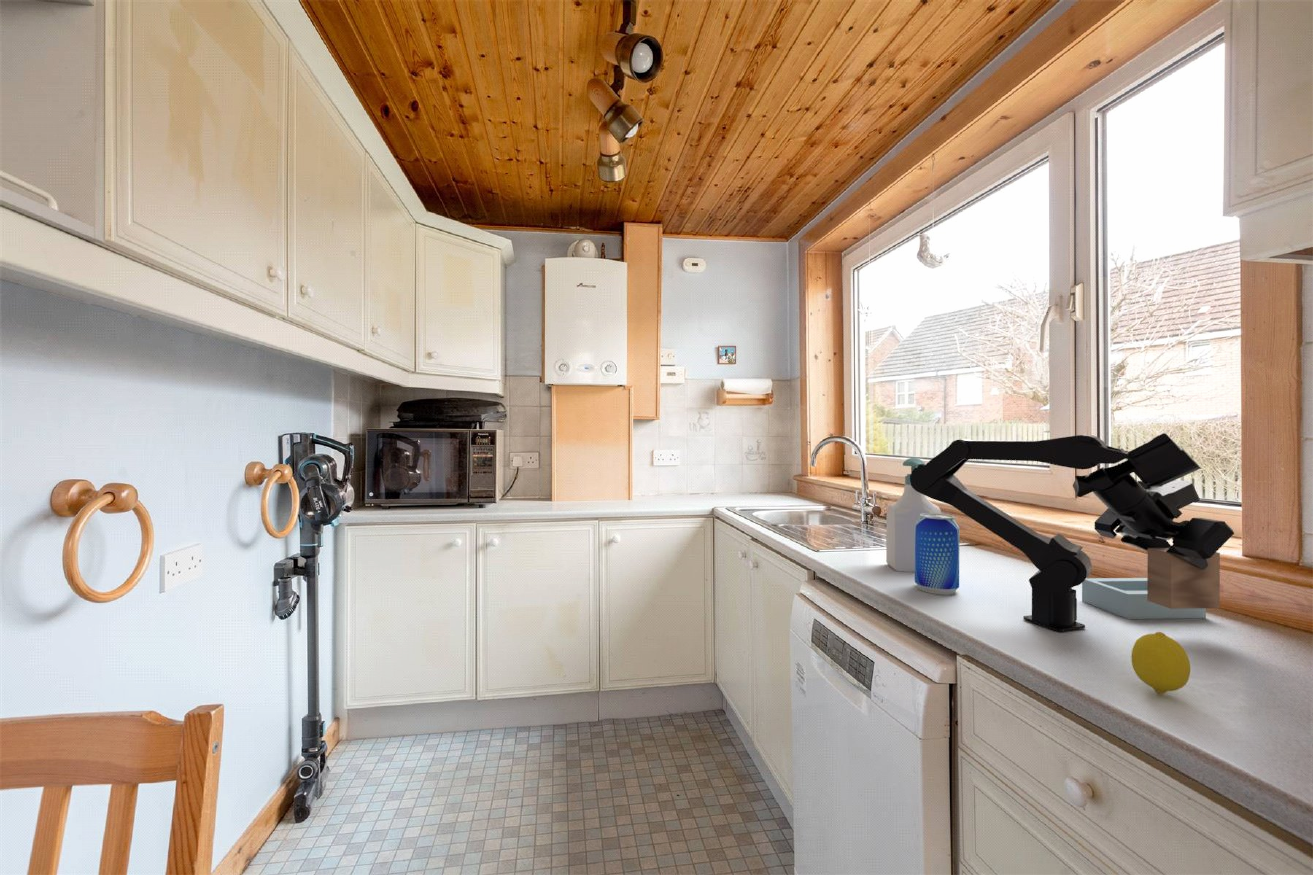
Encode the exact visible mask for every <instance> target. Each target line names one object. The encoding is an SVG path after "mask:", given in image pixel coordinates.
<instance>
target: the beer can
mask: <svg viewBox="0 0 1313 875" xmlns="http://www.w3.org/2000/svg"><path fill="white" fill-rule="evenodd" d="M914 583H915V584H916V585H917V587H918V589H919V590H921V591H923V592H924V593H928V594H933V595H941V596H942V595H943V596H945V595H946V596H948V595H950V596H951V595H953V594H955V593H956V591H957V590H958V589H959V588H960V526H959V525H958V523H957V521H956V520H955V516H954V515H951V514H947V513H941V514H938V513H923V514H920V518H919V519H918V521H917V522H916V524H915V572H914Z"/></svg>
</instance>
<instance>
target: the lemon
mask: <svg viewBox="0 0 1313 875" xmlns="http://www.w3.org/2000/svg"><path fill="white" fill-rule="evenodd" d="M1130 657H1131V658H1130V659H1131V666H1132V668H1133V672H1134V673H1135V675H1136V676H1137V677H1138V678H1139V680H1140V681H1141V682H1143V683H1144V684H1145V685H1147V686H1148V687H1150V688H1152V689H1153V691H1155V693H1157V692H1158V693H1157V694H1160V693H1163V694H1166V693H1167V692H1174V691H1178V690H1180V689H1182V688H1183V687H1185V686H1186V684H1187V683H1188V682H1189V678H1190V675H1191V663H1190V659H1189V656H1188V654H1187V652H1186V650H1185V649H1184V647H1183V646H1182V645H1181V644H1180V643H1179V642H1178V641H1176V640H1175V639H1173V638H1172V637H1170V636H1167V635H1166V634H1165V633H1164V632H1160V631H1156V632H1155V633H1147V634H1145V635H1142V636H1140V637H1139V638H1138V639H1136V641H1135V642H1134V644H1133V647H1132V650H1131V656H1130Z"/></svg>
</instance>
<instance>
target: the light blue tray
mask: <svg viewBox="0 0 1313 875" xmlns="http://www.w3.org/2000/svg"><path fill="white" fill-rule="evenodd" d="M1147 578H1148V577H1118V578H1117V577H1109V578H1108V577H1104V578H1103V577H1100V578H1096V577H1095V578H1094V577H1092V578H1088V577H1087V578H1086V579H1085V580H1084V582H1082V583H1081V602H1084V603H1085V604H1089V605H1091V606H1094V607H1096V608H1100V609H1102V610H1104V611H1106V612H1109V613H1111V614H1113V615H1114V614H1115V615H1116V616H1119V617H1122V618H1124V619H1127V620H1148V619H1149V620H1153V619H1155V620H1157V619H1164V620H1165V619H1168V620H1169V619H1206V618H1207V608H1196V609H1170V608H1167V607H1164V606H1161V605H1158V604H1155V603H1152V602H1149V601H1147Z"/></svg>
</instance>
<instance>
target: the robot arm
mask: <svg viewBox="0 0 1313 875" xmlns="http://www.w3.org/2000/svg"><path fill="white" fill-rule="evenodd" d="M969 460H980V461H981V460H982V461H983V460H984V461H985V460H986V461H987V460H988V461H989V460H990V461H1019V462H1021V461H1023V462H1025V461H1026V462H1039V463H1044V464H1049V465H1053V466H1057V467H1065V468H1069V469H1070V468H1071V469H1076V470H1089V469H1093V468H1095V467H1097V466H1099V465H1102V464H1105V465H1106V464H1107V465H1108V464H1109V465H1111V464H1113V466H1109V467H1101V468H1099V469H1096V470H1094V471H1092V472H1090V473H1087V474H1085V475H1075V476H1074V478H1075V479H1074V481H1073V484H1072V488H1073V490H1074V492H1075V494H1076V496H1077V497H1078V498H1083V497H1084V496H1087V495H1088V494H1091V493H1092V494H1094V496H1096V497H1097V499H1099V500H1100V502H1101V503H1103V504H1104V506H1106V507H1107V508H1106V510H1104V511H1103V513H1102V514H1101V515H1100V516H1099V517H1098V518H1097V519H1096V520H1095V521H1094V530H1095V531H1096V532H1097V533H1098V534H1099V535H1100V536H1101V537H1104V538H1108V539H1109V538H1110V539H1113V540H1114V539H1115V538H1116V537H1117V536H1118V534H1120V535H1121V536H1122V537H1121V539H1120V541H1121V543H1123V544H1127V545H1129V546H1132V547H1135V548H1137V549H1139V550H1142V551H1145V552H1147V553H1148V548H1169V549H1168V550H1167V551H1166V552H1167V553H1169V554H1171V555H1173V556H1175V557H1177V558H1179V559H1181V560H1183V561H1185V562H1187V563H1189V564H1191V565H1193V566H1195V567H1197V568H1199V569H1202V570H1205V569H1206V568H1207V567H1208V563H1207V560H1206V559H1208V558H1211V557H1212V556H1213V555H1214V554H1215V553H1216V552H1218V551H1219V550H1220V549H1221V548H1222V546H1224V544H1226V543H1227V541H1229V539H1230V538H1231V537H1232V536H1233V535H1235V531H1234V529H1232V527H1231V526H1230V525H1229V524H1227V522H1226V521H1225V520H1218V519H1216V520H1215V519H1211V518H1206V517H1192V518H1191V519H1190V520H1182V521H1180V522H1179V521H1174V519H1178V518H1179V517H1180V516H1182V514H1183V512H1182V511H1181V510H1180V509H1183V508H1184V507H1187V506H1189V505H1191V504H1193V503H1195V504H1196V503H1197V502H1199V501H1200V500H1201V499H1200V497H1199V494H1198V491H1197V490H1196V488H1195V485H1194V484H1193V482H1192V481H1189V480H1178V479H1181V478H1183V477H1186V476H1187V475H1191V474H1192V473H1194V472H1196V471H1199V470H1201V469H1202V467H1201V466H1200V465H1199V464H1198V463H1197V462H1196V461H1195V459H1194V458H1193V457H1191V455H1190V454H1189V453H1188V452H1187V451H1186V450H1185V449H1184V448H1181V447H1180V446H1179V445H1178V443H1176V442H1175V441H1174V440H1173V439H1172V438H1171V436H1169V435H1168V434H1167V433H1165V432H1163V433H1160V434H1159V435H1157V436H1155V437H1153V438H1152V439H1150V441H1147V442H1145V443H1144V444H1141V445H1140V446H1137V447H1135V448H1133V449H1131V450H1129V451H1128V450H1124V448H1123V447H1122V448H1117V447H1113V446H1110V445H1107V444H1106V443H1105V441H1104V440H1102V439H1101V438H1100V437H1098V436H1095V435H1091V434H1080V435H1079V434H1078V435H1071V436H1064V437H1057V438H1050V439H1049V438H1048V439H1044V440H1043V439H1042V440H1041V439H1040V440H971V439H968V438H965V439H955V440H953V441H952V442H951V443H950V444H949V445H948V446H947V447H946V448H945V449H944V450H942V451H941V452H939V453H938V454H937V455H935V456H934V457H933V458H932V459H930V460H929V461H928V462H926V464H925V465H922V466H918V467H916V468H915V469H914V470H913V471H912V472H911V471H910V474H911V475H910V482H911V486H912V488H913V489H914V490H915V491H917V492H919V493H921V494H923V495H925V497H927V498H930V499H932V500H935V501H938V502H941V503H944V504H947V505H949V506H951V507H953V508H955V509H956V510H958V511H960V513H962V514H964V515H965V516H967V517H968V518H970V519H972V520H973V521H975V522H977V524H979V525H981V526H982V527H983V528H985V529H987V530H988V531H990V532H991V533H993V534H995V535H996V536H998V537H999V538H1001V539H1002V540H1004V541H1005V542H1007V543H1008V544H1010V545H1011V546H1012V547H1015V548H1016V549H1017V550H1019V551H1021V552H1022V553H1023V554H1024V555H1025V557H1027V559H1028V560H1029V561H1030V562H1031V563H1032V565H1033V566H1034V567H1036V569H1037V572H1035V573H1034V574H1033V575H1032V576H1031V577H1029V579H1028V583H1029V585H1030V587H1031V614H1029V615H1024V616H1023V618H1022V619H1023V620H1025V621H1027V622H1030V623H1032V624H1036V625H1037V626H1041V627H1044V628H1046V629H1049V630H1053V631H1055V632H1067V631H1073V630H1074V631H1075V630H1080V629H1086V624H1084V623H1080V622H1079V621H1077V620H1078V614H1077V613H1078V606H1077V605H1078V602H1077V601H1078V600H1077V589H1073V588H1074V587H1077V586H1080V585H1082V582H1084V580H1085V579H1086V578H1088V576H1089V574H1090V573H1091V571H1092V566H1093V564H1092V561H1091V558H1090V557H1089V555H1088V554H1087V553H1086V552H1084V551H1083V550H1082V549H1084V547H1083V546H1081V545H1079V544H1075V543H1073V542H1071V541H1070V540H1069V539H1067V538H1066V537H1065V536H1064V535H1062V534H1061V533H1059V532H1058V533H1056V534H1055V535H1054V536H1052V537H1049V536H1045V535H1043V534H1041V533H1038V532H1037V531H1035V530H1033V529H1032V528H1031V527H1029V526H1027V525H1025V524H1024V523H1022V522H1020V521H1019V520H1017V519H1016V518H1014V517H1012V516H1011V515H1010V514H1007V512H1004V511H1003V510H1001V509H999V508H998V507H996V506H995V505H993V504H991V503H990V502H989V501H987V500H985V499H983V498H982V497H980V496H978V495H977V494H976V493H974V492H972V491H971V490H969V489H968V488H967V487H966V486H965V485H964V484H963V483H962V482H961V480H959V479H958V477H957V476H956V475H955V474H956V473H957V472H959V470H960V469H961V468H962V467H963V466H964V465H965V464H966V463H967V462H968V461H969ZM1124 460H1125V461H1124ZM1119 462H1121V463H1119ZM1117 463H1118V464H1117ZM1114 464H1116V465H1114ZM1132 474H1134V475H1136V476H1137V478H1138V480H1137V479H1136V478H1134V476H1133V475H1132ZM1170 540H1172V542H1171V543H1172V544H1170V542H1169V541H1170Z"/></svg>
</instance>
